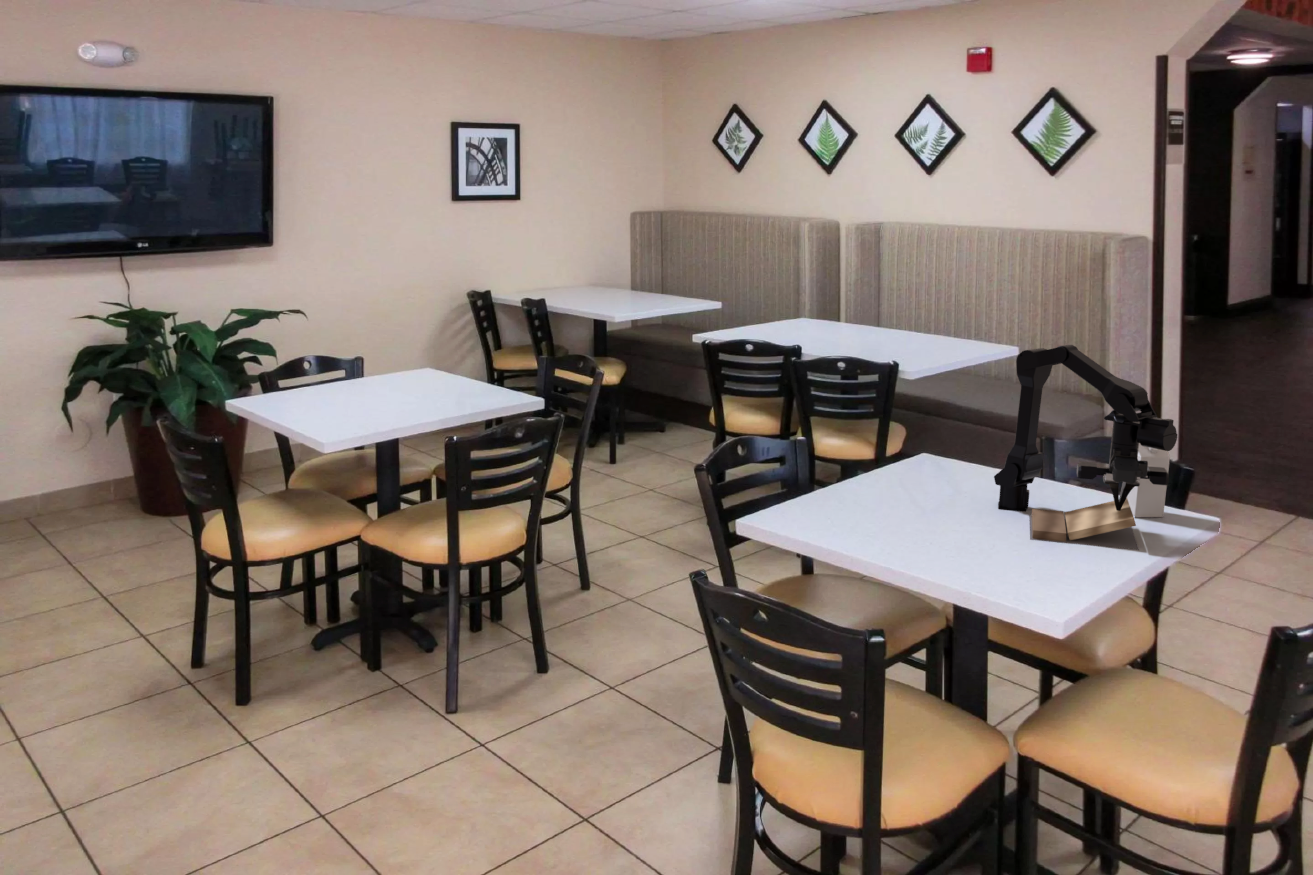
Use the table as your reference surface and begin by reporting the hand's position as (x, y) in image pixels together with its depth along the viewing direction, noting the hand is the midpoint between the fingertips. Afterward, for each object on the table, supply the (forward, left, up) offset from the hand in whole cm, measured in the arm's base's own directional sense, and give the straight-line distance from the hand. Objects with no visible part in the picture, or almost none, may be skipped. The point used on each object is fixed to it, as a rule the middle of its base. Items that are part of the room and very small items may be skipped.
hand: (1118, 510), depth 252 cm
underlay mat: (-7, 0, -6) cm, 10 cm away
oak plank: (-4, 0, -3) cm, 5 cm away
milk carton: (+8, +22, -6) cm, 24 cm away
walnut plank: (-15, 0, -6) cm, 16 cm away
